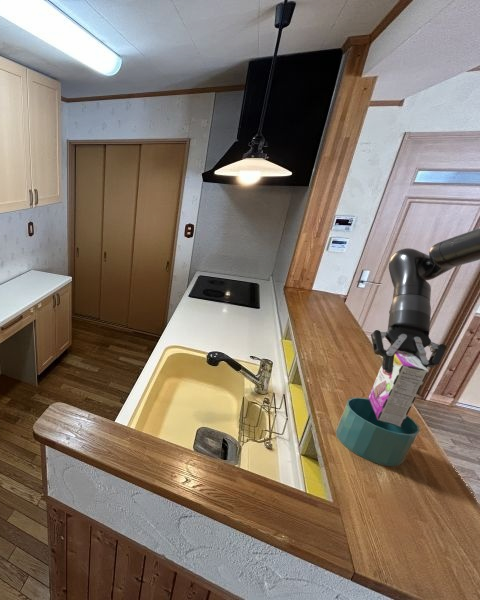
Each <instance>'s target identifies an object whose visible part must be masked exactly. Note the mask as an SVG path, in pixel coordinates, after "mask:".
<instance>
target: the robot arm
mask: <svg viewBox="0 0 480 600" xmlns="http://www.w3.org/2000/svg"><path fill="white" fill-rule="evenodd" d="M477 261H480V227H479V228H476V229H473V230H470V231H467V232H464V233H461V234H459V235H456V236H453V237H450V238H447V239H445V240H441V241H439V242H437V243H434V245H432V246H431V247H430V248H429V251H428V254H427V253H424V252H423V251H420V250H417V249H414V248H411V247H410V248H407V247H406V248H402V249H399V250H398V251H396V252H395V253H393V254H392V255H391V258H390V259H389V261H388V272H389V275H390V280H391V283H392V286H393V292H392V300H391V304H390V306H389V311H388V313H389V315H388V322H387V323H388V324H387V330H386V331H381V330H379V329H375V330H374V331H372V333H371V334H370V338H371V343H372V349H373V353H374V354H375V355H378V356H381V358H382V363H383V364H382V363H381V366H382V368H383V370H385V372H386V373H390V372H391V371H392V367H393V358H394V357H392V355H393V354H394V353H395V352H396V350H400V351H405V352H408V353H414V354H415V355H416V356H417V357H418V358H419V360H420V361H421V362H422V363H423V365H424V366H425V367H426V368H427V369H428V368H435V366H438V365H439V364H440V363H441V361H442V358H443V356H444V354H445V352H446V350H447V345H446V344H444V343H440V344H439V343H435V342H433V341H432V339H431V338H430V327H431V314H432V307H431V297H432V296H431V295H432V286H431V283H429V282H428V281H430V280H434V279H436V278H437V277H440V276H441V275H443V274H444V273H447V272H449V271H450V270H452V269H453V268H456V267H460V266H464V265H467V264H470V263H473V262H474V263H475V262H477ZM384 339H386V340H387V341H388V343H389V346H388V348H387V349H385V348H384V343H383V340H384ZM426 347H429V351H430V353H431V355H430V357H429V359H428V357H427V352H426V349H425V348H426Z"/></svg>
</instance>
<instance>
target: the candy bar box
mask: <svg viewBox="0 0 480 600" xmlns="http://www.w3.org/2000/svg"><path fill="white" fill-rule="evenodd" d="M392 357H394V358H393V367H392V371H391V372H390V373H386V372H385V370H383V368H382V364H383V362H382V363H381V366H380V368H379V370H378V374H377V375H376V377H375V380H374V383H373V384H372V388H371V389H370V392H369V394H368V396H367V399H369V401H370V403H371V405H372V408H373V410H374V412H375V415H376V417H377V419H378V420H379V421H382V422H385V423H389V424H392V425H395V426H399V427H402V425H403V423H404V421H405V419H406V417H407V416H409V413H410V411H411V409H412V407H413V404H414V403H415V400H416V399H417V396H418V394H419V392H420V390H421V388H422V387H423V384H424V382H425V380H426V378H427V376H428V374H429V371H430V370H428V367H427V368H426V367H425V366H424V365H423V363H422V362H421V361H420V360H419V358H418V357H417V356H416V355H415V354H414V353H408V352H405V351H400V350H396V352H395V353H394V354H393V355H392Z"/></svg>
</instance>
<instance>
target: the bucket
mask: <svg viewBox="0 0 480 600" xmlns="http://www.w3.org/2000/svg"><path fill="white" fill-rule="evenodd" d="M420 433H421V429H420V426H419V424H418V422H416V421H415V420H414V419H413V418H411V417H410V416H409V415H407V417H406V419H405V421H404V423H403V425H402V427H399V426H395V425H392V424H389V423H385V422H382V421H379V420H378V419H377V417H376V415H375V412H374V410H373V408H372V405H371V403H370V401H369V399H368V398H366V397H351V398H349V399H348V400H347V401H346V404H345V406H344V409H343V411H342V413H341V416H340V418H339V420H338V423H337V425H336V429H335V436H336V437H337V439H338V441H339V442H340V443H341V444H342V445H343V446H344V447H345V448H347V450H350V451H351V452H352V453H354V454H356V455H357V456H359V457H360V458H363V459H365V460H367V461H370V462H372V463H374V464H378V465H382V466H386V467H399V466H402V464H404V462H405V460H406V458H407V457H408V455H409V453H410V451H411V449H412V447H413V445H414V444H415V441H416V440H417V437H419V434H420Z"/></svg>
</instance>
